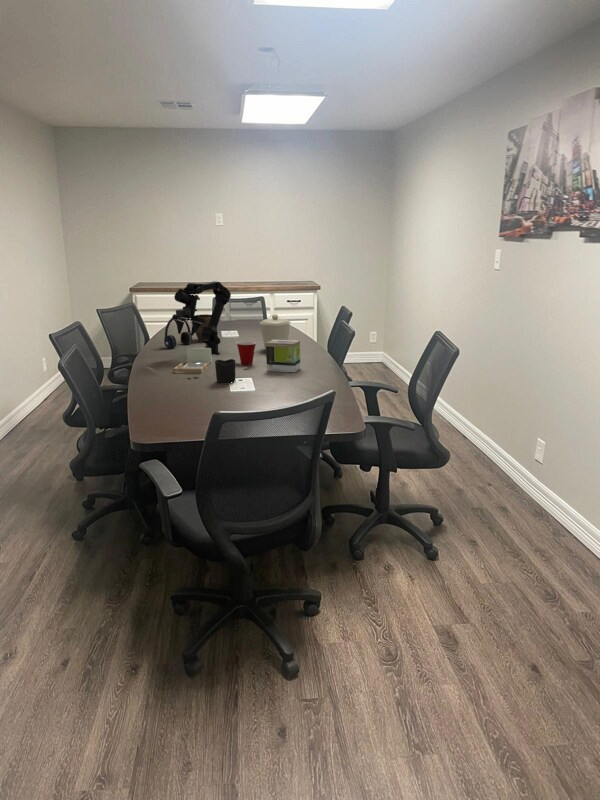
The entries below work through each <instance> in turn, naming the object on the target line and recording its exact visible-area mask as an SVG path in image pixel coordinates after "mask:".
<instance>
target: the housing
mask: <svg viewBox="0 0 600 800" xmlns="http://www.w3.org/2000/svg"><path fill="white" fill-rule="evenodd" d="M183 366H184V362H181V363H179V364H178V365H176V366H175V367H173V369H172V370H173V371H172V372H173V374H203V372H205V370H207V369H208V368H209V364H208V363H206V364H204V365H203V366H202V367H201V368H200V369H182V367H183Z"/></svg>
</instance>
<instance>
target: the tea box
mask: <svg viewBox="0 0 600 800" xmlns="http://www.w3.org/2000/svg"><path fill="white" fill-rule="evenodd" d="M265 355H266V356H265V357H266V358H265V359H266V371H269V372H281V373H296V372H298V371H299V370H300V369H301V343H300V340H298V339H297V340H295V339H294V340H292V339H288V340H271V341H269V342H267V343H266V349H265Z"/></svg>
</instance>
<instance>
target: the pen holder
mask: <svg viewBox="0 0 600 800" xmlns="http://www.w3.org/2000/svg"><path fill="white" fill-rule="evenodd" d="M214 366H215V375H216V382H217V383H218V384H220V383H230V384H232V383H231V382H233V383H235V382H236V360H235V359H234V358H230V359H226V360H223V359H215V361H214ZM234 381H235V382H234Z"/></svg>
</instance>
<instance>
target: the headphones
mask: <svg viewBox="0 0 600 800" xmlns="http://www.w3.org/2000/svg"><path fill="white" fill-rule="evenodd" d="M172 322H174V320H173V319H172V317H171V318H170V319H169V320H168V322H167V324H166V326H165V330H164V339H163V343H164V346H165V347H166V348H168V349H171V348H172V349H174V348H176V347H177V339H176V337H175V336H174V335H173V334H172V335H171V334H169V335H168V332H169V327H170V325H171V323H172ZM183 322H184V324H185V325H186V328H187V331H183V332H181V333H180V343H181V344H182V345H190V344H191V342H192V341H193V336H192V335H191V328H190V326H189V322H188V321H187V320H184V321H183Z"/></svg>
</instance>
